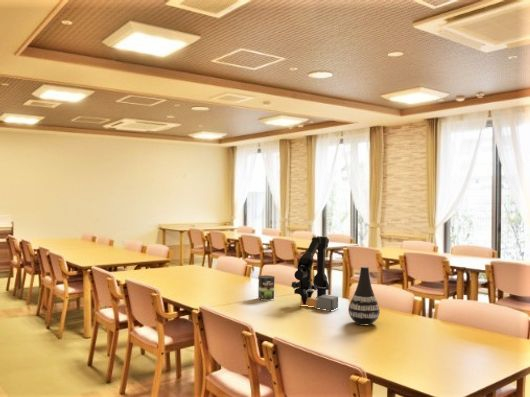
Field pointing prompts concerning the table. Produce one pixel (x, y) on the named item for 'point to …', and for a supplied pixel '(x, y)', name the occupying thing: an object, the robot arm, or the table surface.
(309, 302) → the orange rectangular bar
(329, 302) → the dispenser
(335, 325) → the table surface
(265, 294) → the coffee can
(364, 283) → the vase
